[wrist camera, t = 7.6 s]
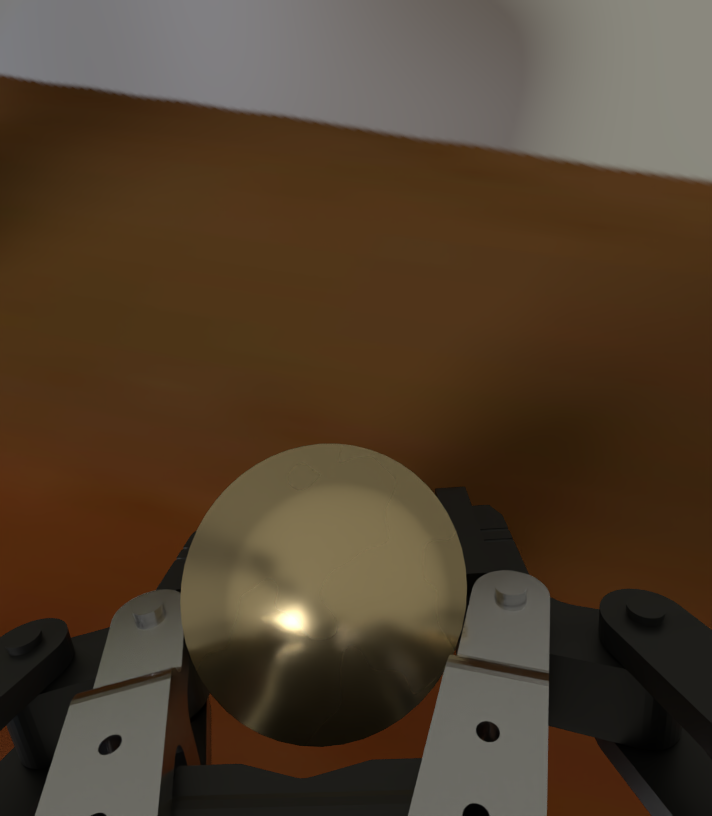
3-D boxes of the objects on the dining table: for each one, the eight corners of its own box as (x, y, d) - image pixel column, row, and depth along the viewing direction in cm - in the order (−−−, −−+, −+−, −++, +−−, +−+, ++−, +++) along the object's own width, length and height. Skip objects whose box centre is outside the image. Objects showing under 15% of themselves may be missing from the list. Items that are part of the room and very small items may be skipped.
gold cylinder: (296, 555, 17) (195, 453, 9) (431, 547, 17) (448, 434, 9) (294, 711, 15) (162, 752, 7) (448, 705, 15) (488, 740, 7)
